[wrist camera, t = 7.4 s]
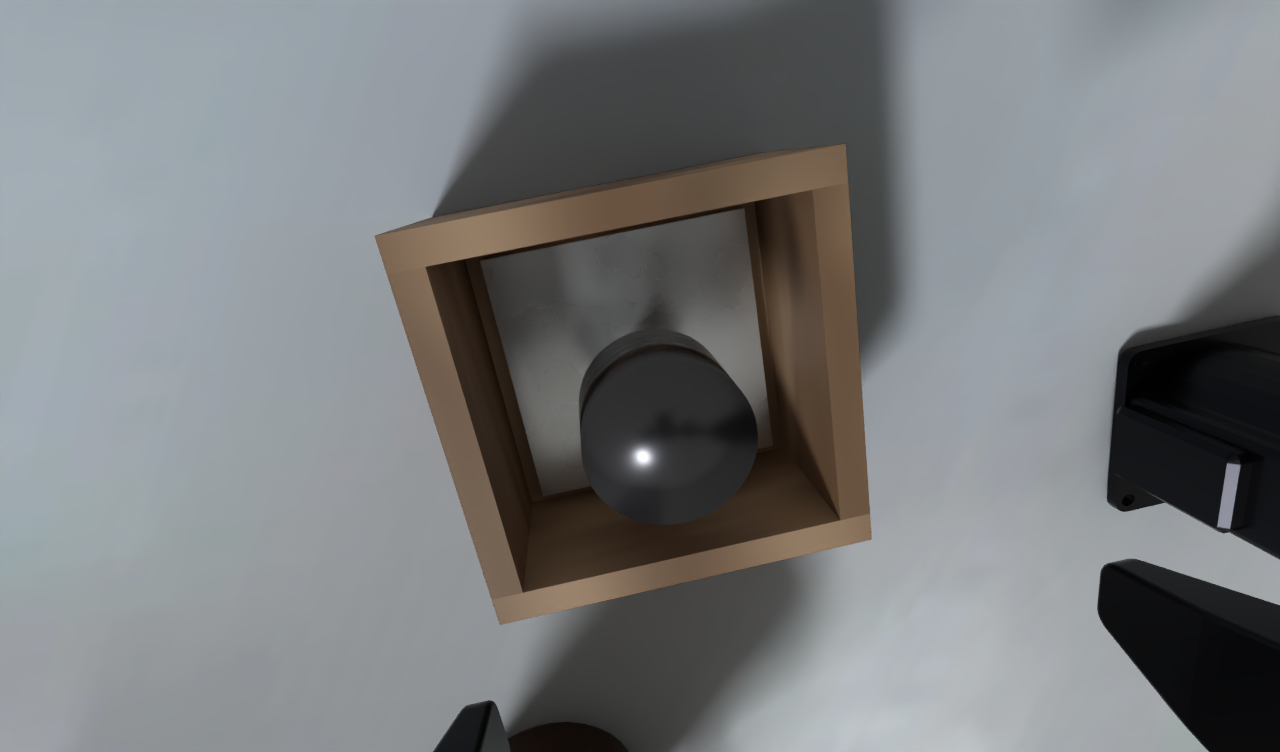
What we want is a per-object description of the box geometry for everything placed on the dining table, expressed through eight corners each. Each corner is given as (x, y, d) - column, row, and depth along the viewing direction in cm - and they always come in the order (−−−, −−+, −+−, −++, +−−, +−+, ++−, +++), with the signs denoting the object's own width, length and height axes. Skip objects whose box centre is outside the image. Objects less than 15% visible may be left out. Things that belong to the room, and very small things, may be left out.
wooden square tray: (765, 152, 18) (845, 143, 13) (797, 450, 21) (871, 539, 16) (430, 217, 18) (374, 235, 12) (516, 513, 21) (500, 624, 16)
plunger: (738, 207, 17) (833, 225, 11) (767, 437, 20) (858, 558, 14) (482, 258, 17) (434, 306, 11) (543, 487, 20) (533, 633, 13)
